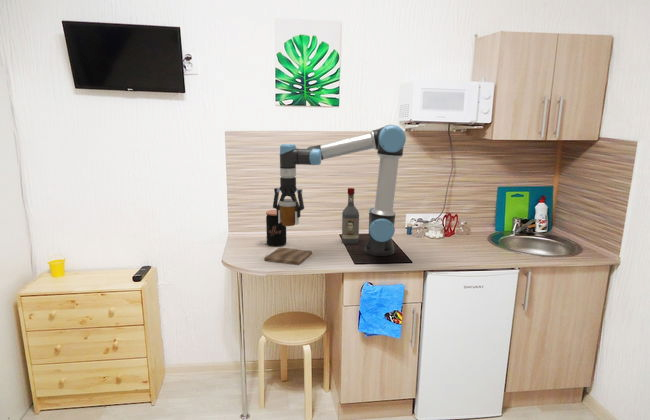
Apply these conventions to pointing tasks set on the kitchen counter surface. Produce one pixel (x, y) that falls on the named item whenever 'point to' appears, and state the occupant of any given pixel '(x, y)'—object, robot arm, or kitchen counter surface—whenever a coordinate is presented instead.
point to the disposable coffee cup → (287, 212)
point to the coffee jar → (275, 229)
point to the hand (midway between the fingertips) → (288, 223)
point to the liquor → (350, 221)
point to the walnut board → (288, 256)
